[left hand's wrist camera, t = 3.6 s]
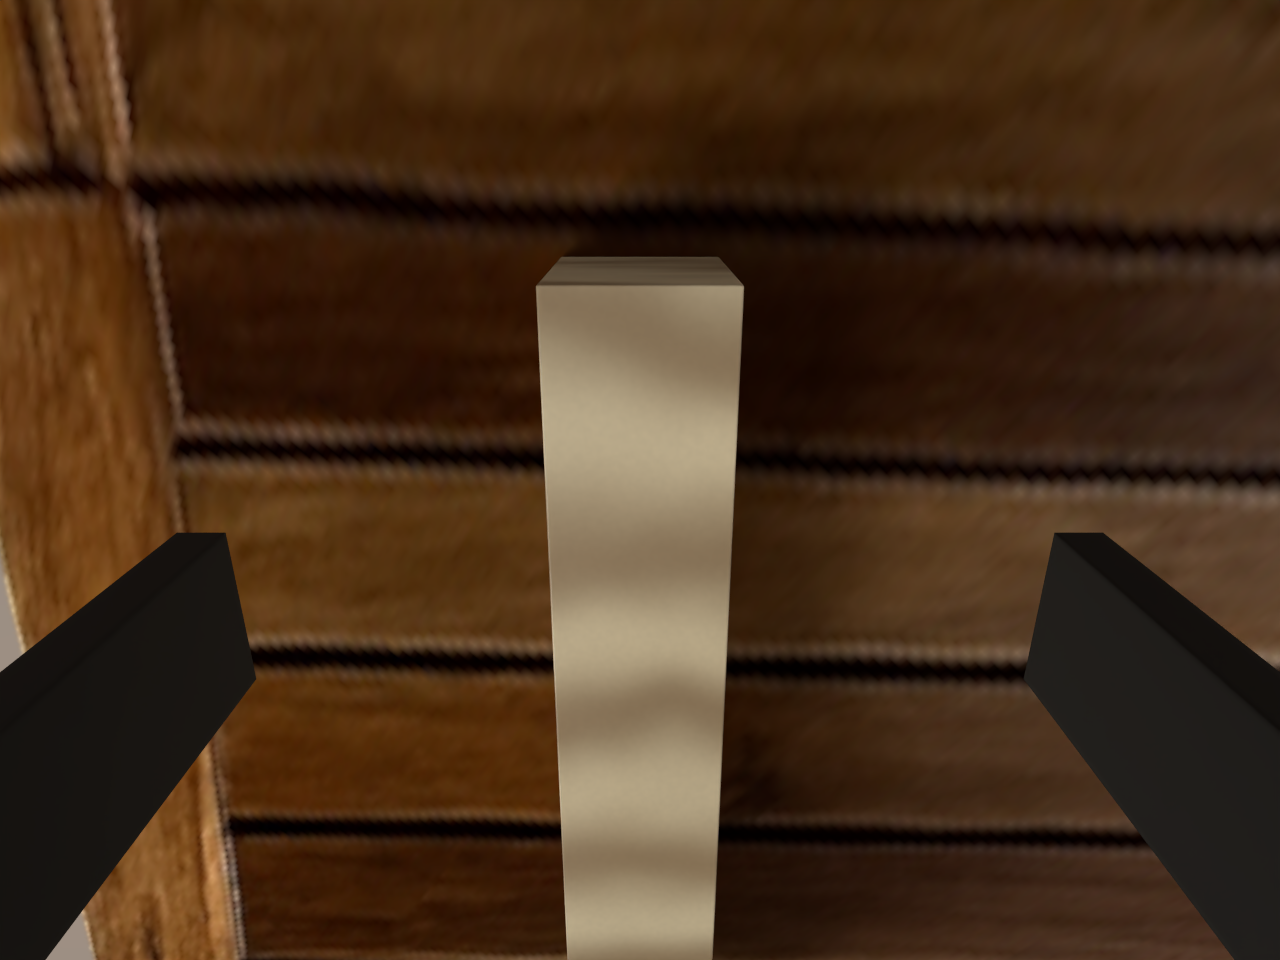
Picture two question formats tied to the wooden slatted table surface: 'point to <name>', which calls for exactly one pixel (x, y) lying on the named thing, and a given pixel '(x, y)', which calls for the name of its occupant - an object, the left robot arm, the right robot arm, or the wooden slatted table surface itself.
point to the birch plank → (640, 588)
